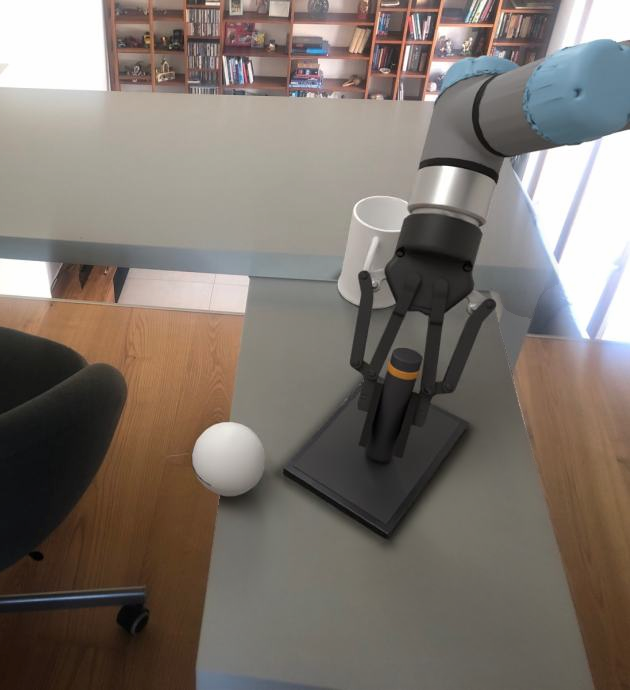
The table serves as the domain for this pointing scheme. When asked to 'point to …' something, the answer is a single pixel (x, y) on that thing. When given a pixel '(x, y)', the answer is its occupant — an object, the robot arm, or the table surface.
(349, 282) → the mug
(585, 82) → the robot arm
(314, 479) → the tablet
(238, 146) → the table surface
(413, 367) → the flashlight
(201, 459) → the white sphere
